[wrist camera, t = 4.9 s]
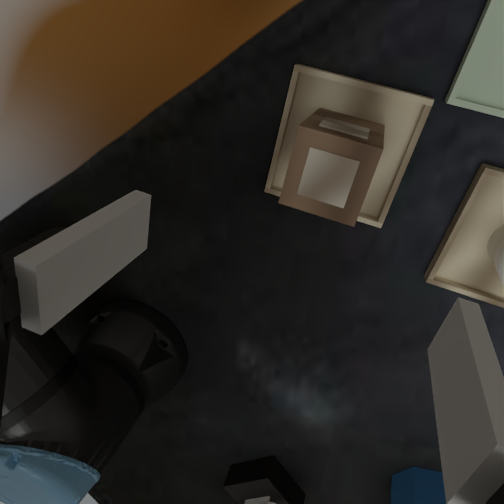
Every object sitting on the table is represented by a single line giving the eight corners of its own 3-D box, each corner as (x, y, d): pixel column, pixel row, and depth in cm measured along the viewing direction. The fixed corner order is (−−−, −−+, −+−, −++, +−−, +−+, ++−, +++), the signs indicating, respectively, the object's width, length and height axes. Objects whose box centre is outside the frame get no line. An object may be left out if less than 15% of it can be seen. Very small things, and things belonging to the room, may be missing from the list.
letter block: (302, 169, 39) (278, 203, 31) (320, 105, 36) (298, 123, 28) (361, 187, 38) (354, 227, 30) (385, 123, 35) (384, 147, 27)
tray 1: (268, 187, 42) (264, 191, 40) (298, 63, 36) (294, 64, 34) (381, 222, 40) (380, 228, 39) (432, 98, 34) (434, 100, 33)
